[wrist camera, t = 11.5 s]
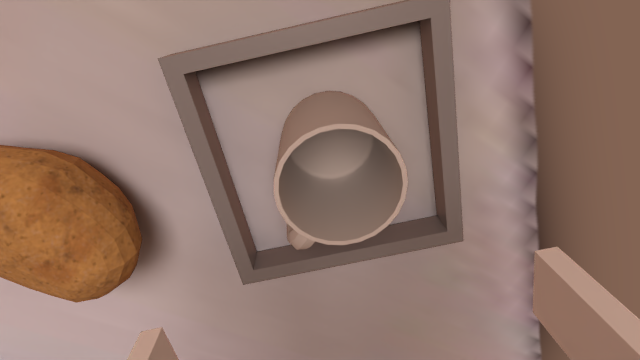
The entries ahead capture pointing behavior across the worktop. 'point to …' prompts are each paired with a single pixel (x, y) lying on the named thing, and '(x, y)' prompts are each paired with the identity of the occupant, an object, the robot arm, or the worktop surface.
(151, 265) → the worktop surface
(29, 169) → the potato
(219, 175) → the tray
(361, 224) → the cup
